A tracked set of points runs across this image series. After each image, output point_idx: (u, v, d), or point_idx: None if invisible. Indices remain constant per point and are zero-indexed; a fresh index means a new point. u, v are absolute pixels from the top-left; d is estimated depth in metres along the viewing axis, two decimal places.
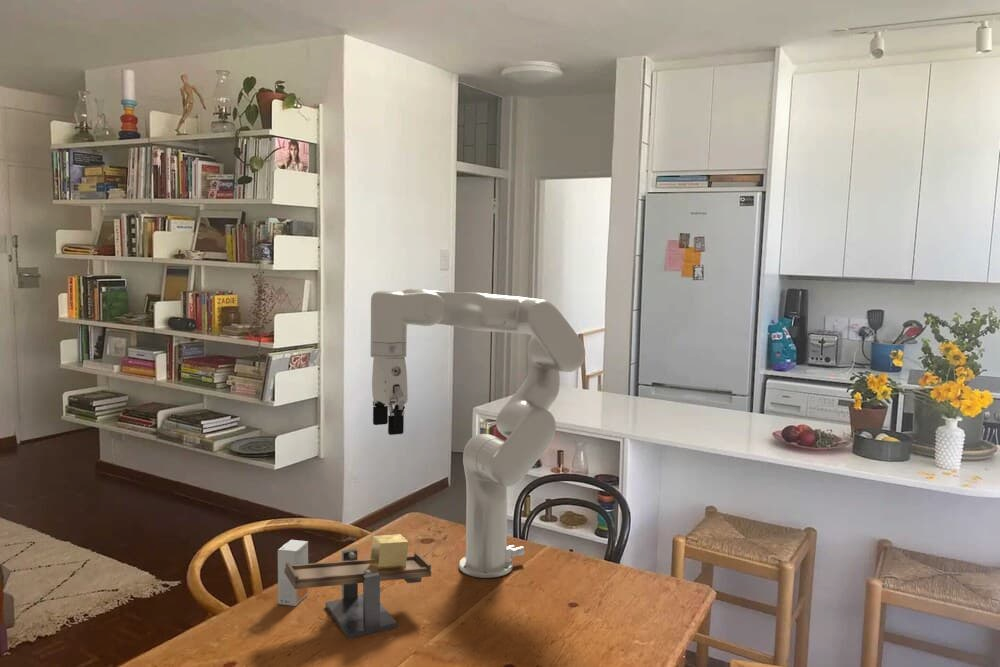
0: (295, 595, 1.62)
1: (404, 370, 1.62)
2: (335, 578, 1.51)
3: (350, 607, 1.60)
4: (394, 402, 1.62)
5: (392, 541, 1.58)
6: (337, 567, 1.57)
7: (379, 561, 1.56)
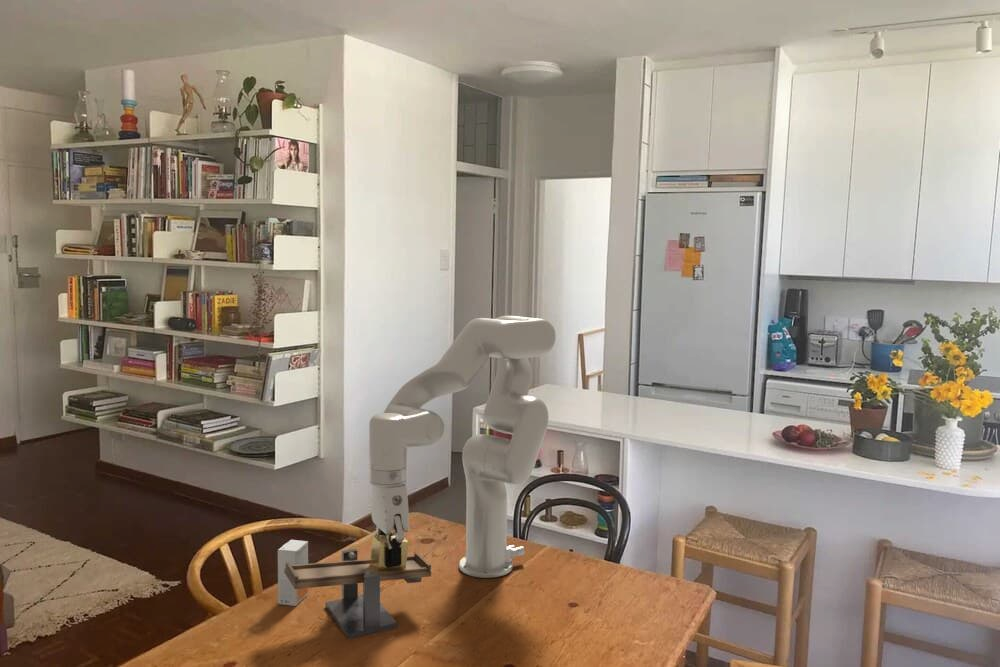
0: (295, 595, 1.62)
1: (405, 498, 1.55)
2: (335, 578, 1.51)
3: (350, 607, 1.60)
4: (393, 534, 1.56)
5: None
6: (337, 567, 1.57)
7: (379, 561, 1.56)
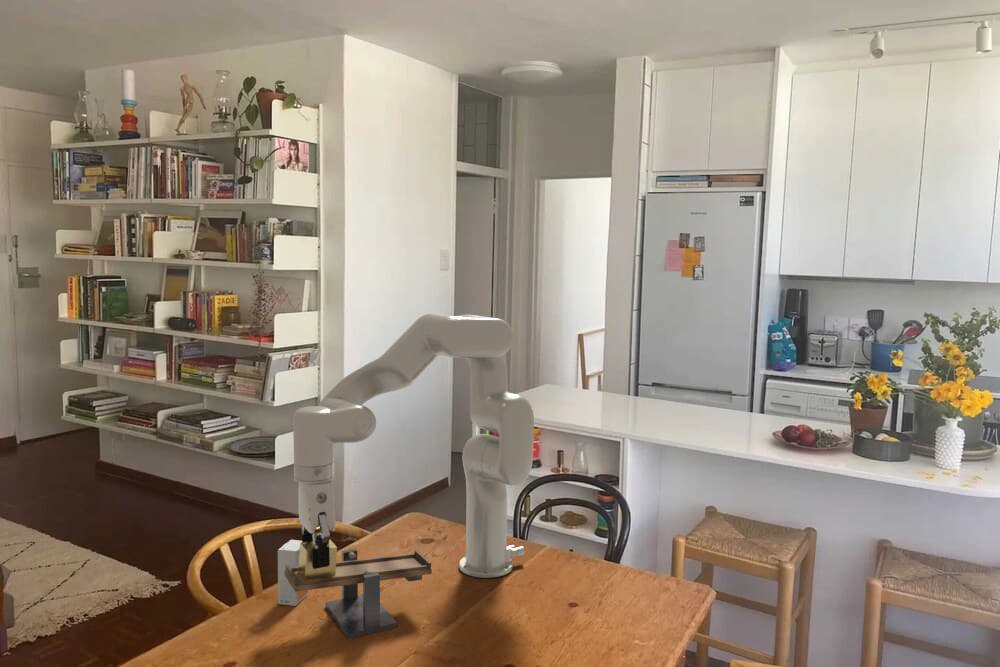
0: (295, 595, 1.62)
1: (331, 496, 1.48)
2: (335, 579, 1.51)
3: (350, 607, 1.60)
4: (319, 533, 1.48)
5: None
6: (337, 568, 1.57)
7: (306, 569, 1.49)
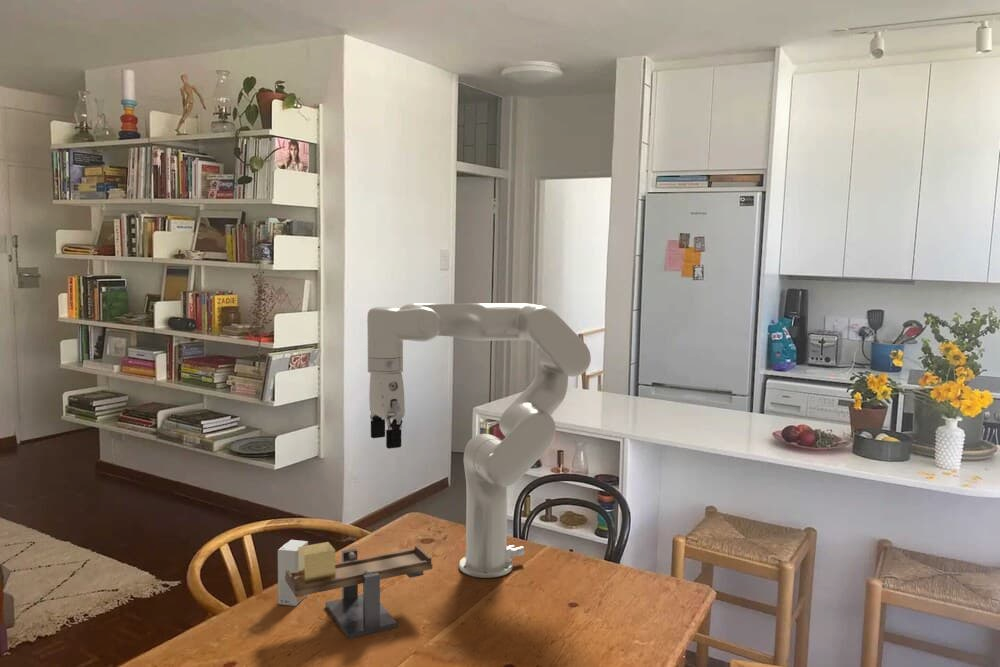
0: None
1: (401, 385, 1.65)
2: (335, 581, 1.51)
3: (350, 607, 1.60)
4: (392, 416, 1.65)
5: (317, 551, 1.51)
6: (338, 569, 1.57)
7: (305, 574, 1.49)
